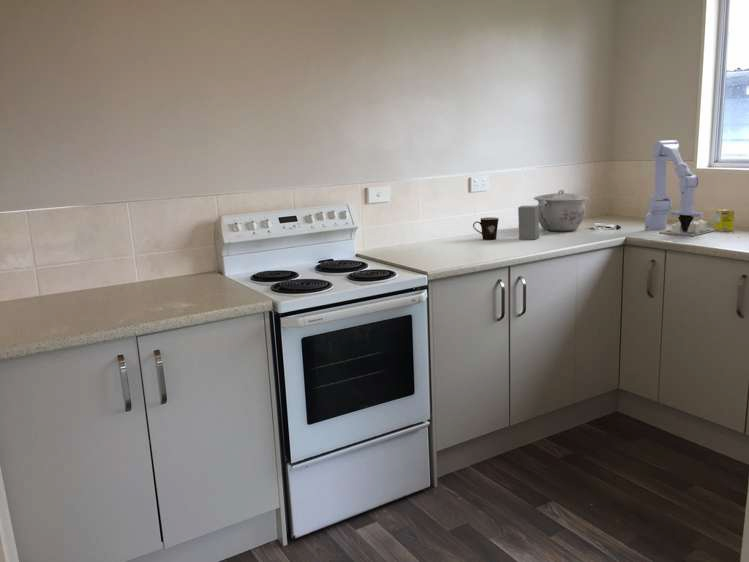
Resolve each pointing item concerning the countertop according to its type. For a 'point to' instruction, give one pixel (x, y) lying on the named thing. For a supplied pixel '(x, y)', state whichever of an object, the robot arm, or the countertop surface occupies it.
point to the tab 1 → (677, 228)
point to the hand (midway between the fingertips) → (685, 231)
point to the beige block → (694, 227)
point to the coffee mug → (488, 228)
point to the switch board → (688, 233)
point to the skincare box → (528, 222)
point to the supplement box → (724, 220)
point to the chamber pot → (561, 211)
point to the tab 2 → (702, 225)
